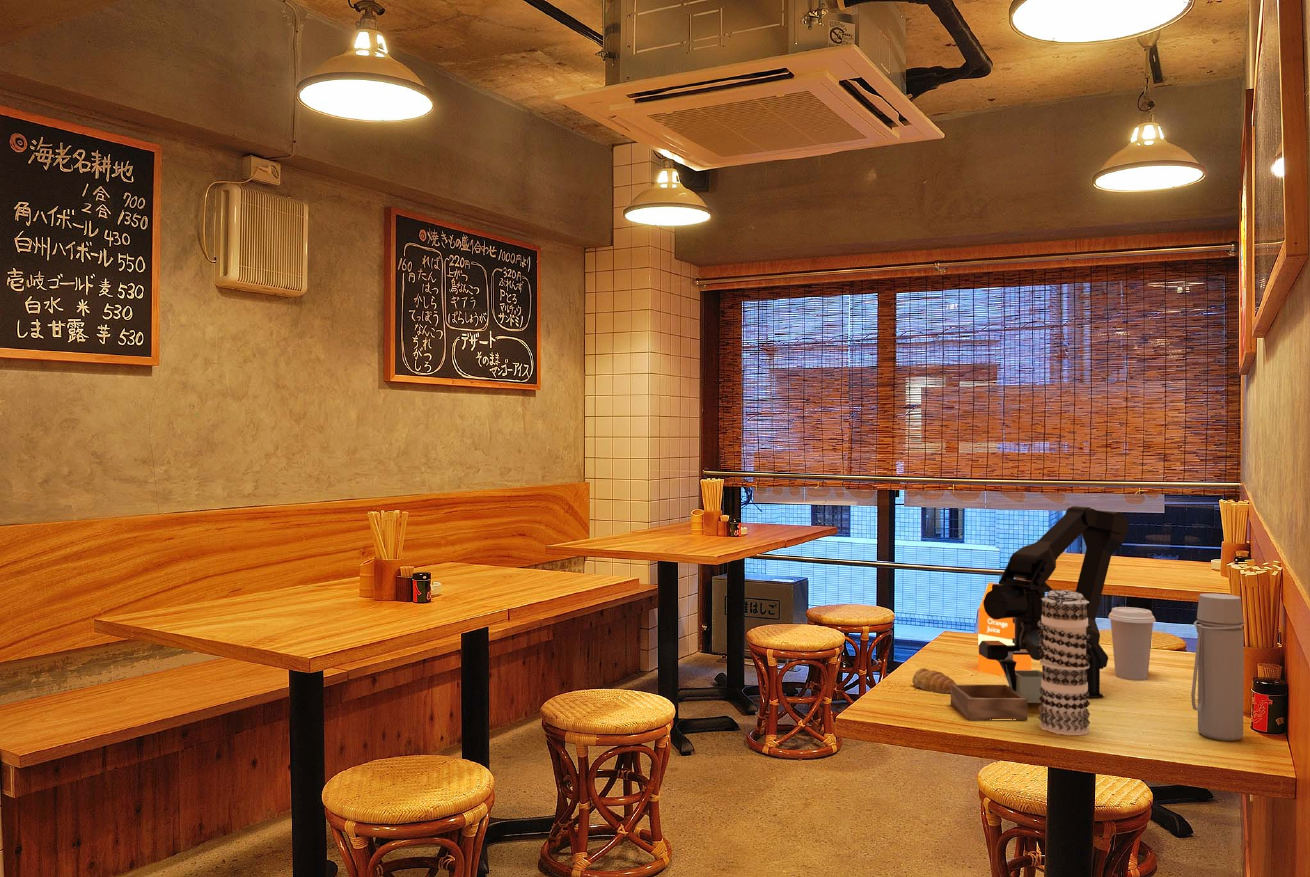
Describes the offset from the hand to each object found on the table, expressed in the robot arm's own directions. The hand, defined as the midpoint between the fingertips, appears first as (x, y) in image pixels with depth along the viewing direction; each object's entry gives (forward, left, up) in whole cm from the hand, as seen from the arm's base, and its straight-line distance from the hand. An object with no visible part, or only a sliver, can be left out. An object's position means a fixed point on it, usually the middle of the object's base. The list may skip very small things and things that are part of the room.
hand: (1029, 693), depth 194 cm
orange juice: (-5, -27, -2) cm, 28 cm away
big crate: (+11, +6, -2) cm, 12 cm away
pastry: (+15, -13, -3) cm, 20 cm away
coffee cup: (-32, -23, -2) cm, 40 cm away
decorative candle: (0, +16, -2) cm, 17 cm away
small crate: (0, 0, -1) cm, 1 cm away
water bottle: (-25, +21, -2) cm, 33 cm away
